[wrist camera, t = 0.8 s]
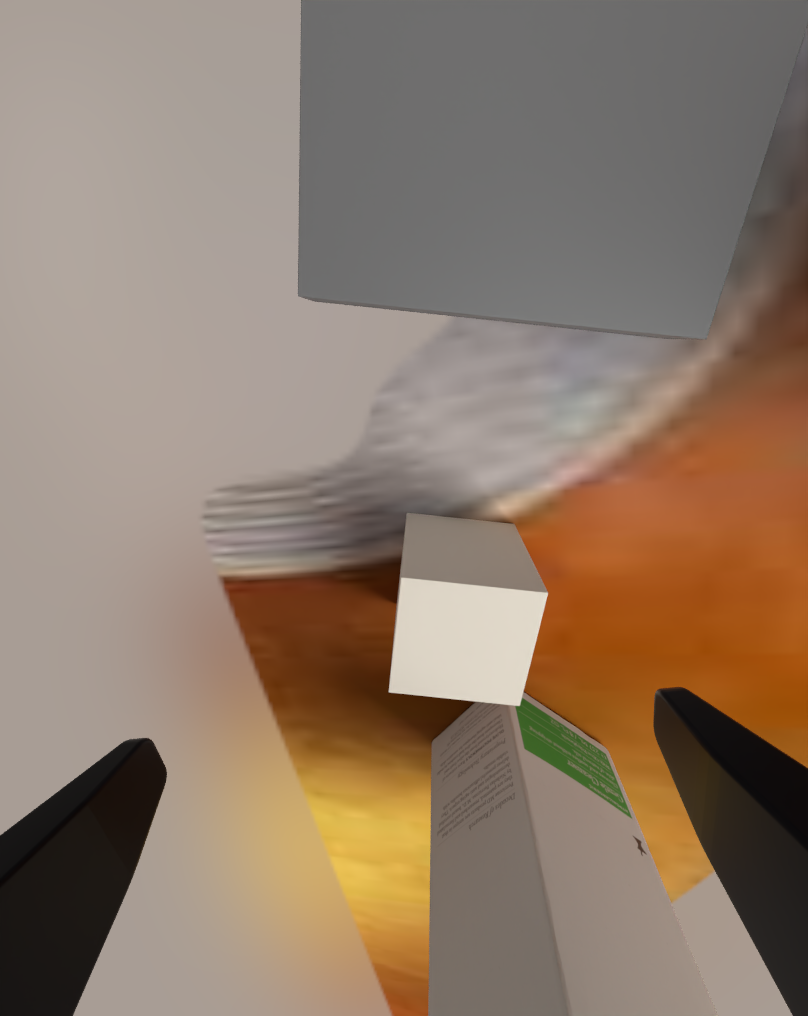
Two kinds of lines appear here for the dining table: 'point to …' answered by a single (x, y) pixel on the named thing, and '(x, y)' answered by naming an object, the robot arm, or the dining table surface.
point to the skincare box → (545, 879)
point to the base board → (536, 155)
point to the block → (465, 611)
